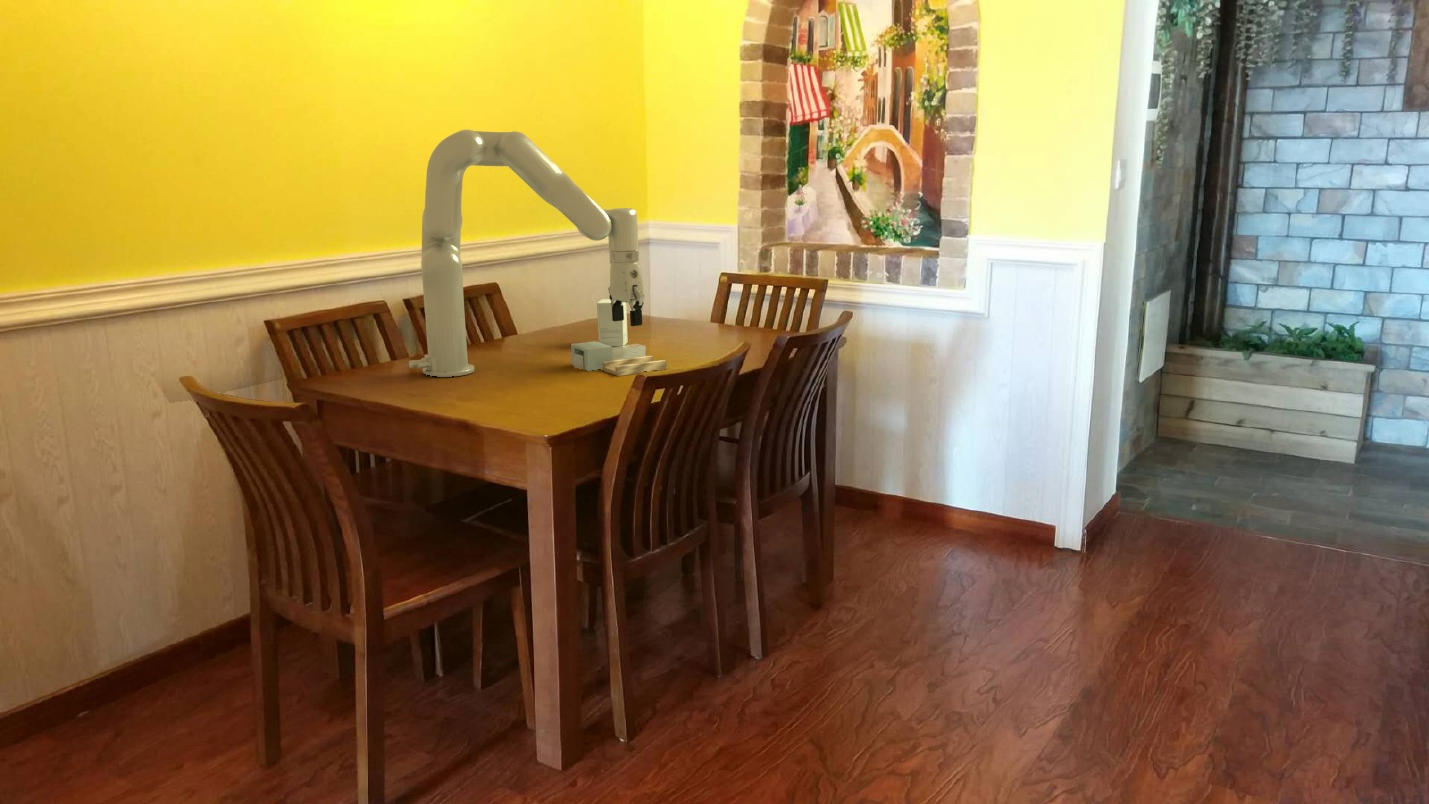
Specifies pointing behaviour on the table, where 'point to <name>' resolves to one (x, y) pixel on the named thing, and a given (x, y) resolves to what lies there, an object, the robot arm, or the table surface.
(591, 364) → the grey arch block
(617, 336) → the supplement box
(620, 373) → the cradle
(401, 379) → the table surface
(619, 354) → the bar
